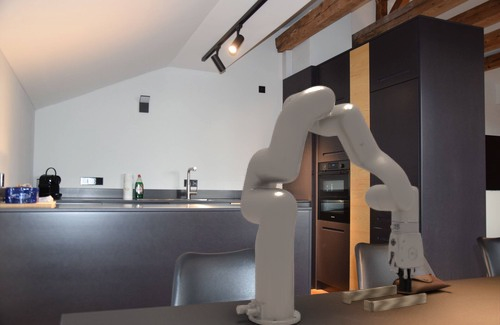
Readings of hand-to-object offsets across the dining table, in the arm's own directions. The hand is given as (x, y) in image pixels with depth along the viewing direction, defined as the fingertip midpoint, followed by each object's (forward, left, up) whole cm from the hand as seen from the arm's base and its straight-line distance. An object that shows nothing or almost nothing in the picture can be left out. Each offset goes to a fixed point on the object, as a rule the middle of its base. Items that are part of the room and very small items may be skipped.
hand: (405, 291), depth 125 cm
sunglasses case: (+12, +2, -3) cm, 12 cm away
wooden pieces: (-8, 0, -2) cm, 8 cm away
